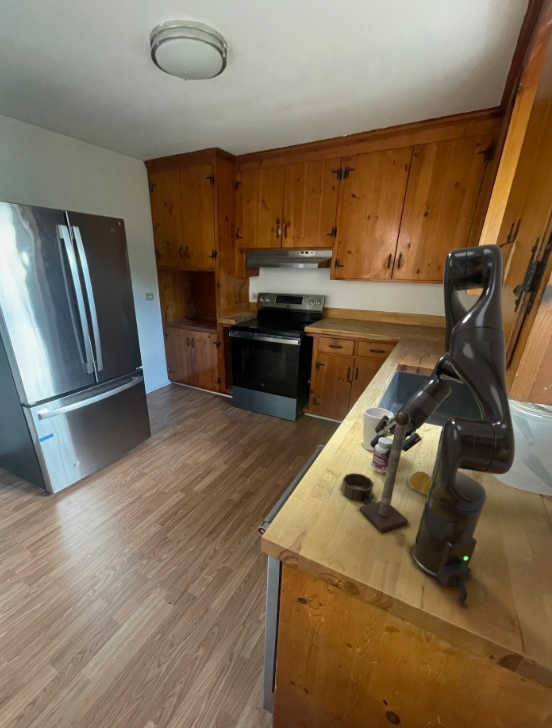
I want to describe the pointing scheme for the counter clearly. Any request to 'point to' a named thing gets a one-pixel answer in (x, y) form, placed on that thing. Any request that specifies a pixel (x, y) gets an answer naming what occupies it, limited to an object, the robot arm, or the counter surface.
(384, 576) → the counter surface
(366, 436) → the foam cup
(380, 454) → the pill bottle
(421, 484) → the bread roll
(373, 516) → the towel stand
